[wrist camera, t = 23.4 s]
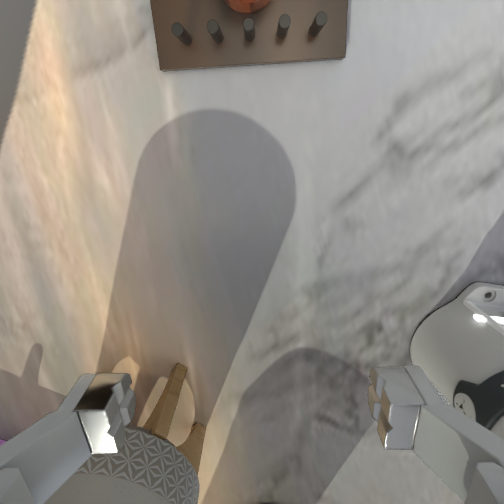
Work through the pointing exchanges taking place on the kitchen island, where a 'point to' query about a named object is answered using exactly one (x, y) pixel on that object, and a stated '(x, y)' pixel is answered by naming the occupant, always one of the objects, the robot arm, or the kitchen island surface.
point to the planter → (142, 463)
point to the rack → (247, 33)
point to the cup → (246, 5)
